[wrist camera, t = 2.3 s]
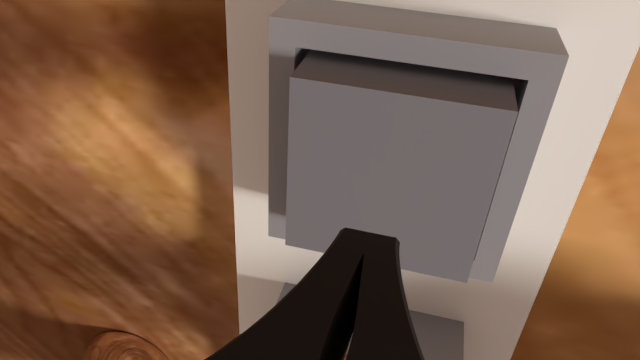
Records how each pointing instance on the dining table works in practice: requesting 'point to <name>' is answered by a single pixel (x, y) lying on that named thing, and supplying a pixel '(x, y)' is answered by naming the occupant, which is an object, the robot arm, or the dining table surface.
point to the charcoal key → (395, 156)
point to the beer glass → (122, 348)
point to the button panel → (518, 166)
